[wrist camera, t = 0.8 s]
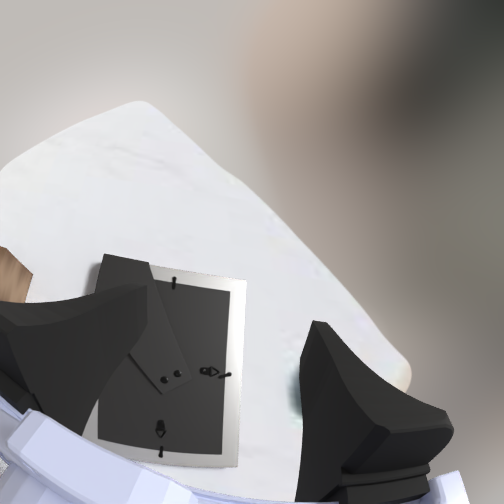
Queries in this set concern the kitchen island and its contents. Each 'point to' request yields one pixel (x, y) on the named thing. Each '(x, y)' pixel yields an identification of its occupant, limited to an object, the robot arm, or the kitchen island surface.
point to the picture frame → (175, 370)
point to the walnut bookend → (13, 278)
